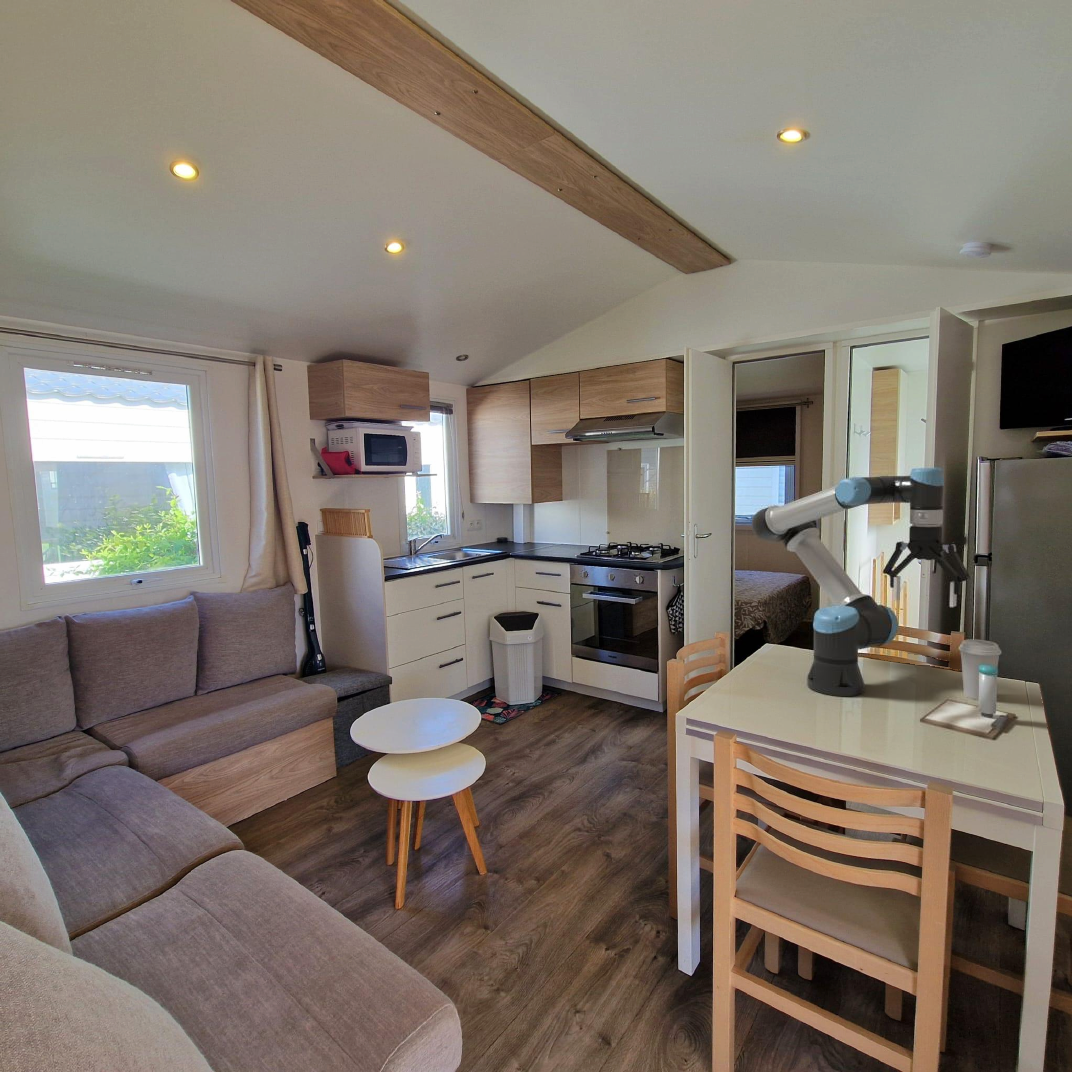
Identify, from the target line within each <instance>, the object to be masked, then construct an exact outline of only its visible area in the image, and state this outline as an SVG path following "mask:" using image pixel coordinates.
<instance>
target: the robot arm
mask: <svg viewBox="0 0 1072 1072" xmlns="http://www.w3.org/2000/svg"><path fill="white" fill-rule="evenodd" d="M944 481H945V479H944V470H943V469H942V468H940V467H922V468H919V467H917V468H916V467H915V468H912V469H911V470H910V474H909V475H880V476H853V477H848V478H847V477H846V478H844V479H841V480H840V482H839V483H837V485H834V486H832V487H831V486H830V487H829V488H826V489H823V490H821V491H818V492H816V493H813V494H809V495H807V496H804V497H802V498H799V499H797V500H793V501H791V502H788V503H785V504H782V505H777V504H776V505H771V506H768V507H765V508H762V509H759V511H757V512H756V513H754V516H753V517H752V519H751V529H752V532H753V534H754V535H755V537H757V538H758V539H759V540H761V541H763V542H767V543H777V542H779V543H780V542H781V543H782V544H783V545H784V547H785V548H786V550H787V551H788V552H794V553H795V554H796V555H797V556H798V558H799V560H801V562H802V564H803V565H804V566H805V568H807V570H808V571H809V573H810V574H811V575H812V577H813V578H814V580H815V581H816V582H817V584H818V585H819V587H820V588H821V589H822V591H824V593H825V595H826V596H827V597H828V599H829V600H830V601H831V602H832V604H833V605H834V606H833V605H829V606H826V607H825V606H824V607H822V608H819V609H818V610H816V612H815V613H814V617H813V623H812V625H813V626H812V627H813V661H812V663H811V665H810V669H809V671H808V673H807V677H806V685H807V687H808V688H809V689H810V690H812V691H814V692H817V693H821V694H824V695H827V696H828V695H829V696H836V697H837V696H838V697H852V696H853V697H856V696H860V695H862V694H864V692H865V680H864V677H863V675H862V672H861V670H860V667H859V650H864V649H868V648H869V649H870V648H874V647H876V648H877V647H881V646H883V645H887V644H889V643H891V642H892V641H893V640H894V639H895V638H896V637H897V635H898V631H899V629H898V627H899V620H898V617H897V615H896V613H895V612H894V610H892V609H891V608H890V607H888V606H885V605H883V604H878V603H877V602H876V601H875V599H874V598H873V597H872V596H871V595H869V594H864V593H863V592H862V591H861V590H860V589H859V588H858V586H857V585H856V583H855V582H854V581H853V580H852V579H851V578H850V575H849V574H848V573H847V572H846V571H845V570H844V569H843V567H842V566H841V564H840V563H839V562H838V561H837V559H836V558H835V557H834V555H833V554H832V553H831V552H830V550H829V549H828V548H827V547H826V545H825V544H824V542H823V541H822V540H821V539H820V536H819V535H820V529H819V527H820V526H819V524H818V522H819V519H822V518H825V517H828V516H831V515H835V514H838V513H841V512H844V511H847V510H851V509H854V508H857V507H860V506H864V505H874V504H876V505H877V504H878V505H879V504H891V503H893V504H894V503H895V504H896V503H901V504H902V503H903V504H904V503H905V504H906V503H907V504H909V524H911V525H910V526H909V529H908V531H909V535H908V537H909V540H908V542H904V541H897V542H896V543H895V549H894V551H893V552H892V554H891V556H890V558H889V560H888V561H887V563H886V565H885V566H884V568H883V570H882V574H885V575H888V576H889V577H890V578H889V579H890V580H889V586H890V588H891V589H893V601H899V600H901V580H902V579H901V577H902V576H900V575H899V574H900V573H901V572H902V571H903V570H904V569H905V568H906V567H907V566H908V565H909V564H910V563H911V562H912V561H913V560H915V559H917V560H925V561H935V562H936V563H937V564H938V566H940V568H941V569H942V570H943V571H944V572H945V573H946V574H947V575H948V576H949V578H951V580H952V581H950V582H949V583H950V584H949V608H954V607H957V600H958V598H957V597H958V596H959V595H961V593H962V583H963V582H966V581H969V580H970V579H971V575H970V574H969V572H968V570H967V568H966V567H965V565H964V563H963V561H962V559H961V558H960V555H959V553H958V550H957V545H956V544H955V543H951V544H944V543H943V527H942V524H944V523H943V522H944V519H943V518H944V517H943V516H944V510H943V506H944V505H943V503H944V489H945V488H944V487H945V482H944ZM906 548H907V549H908V550H909V552H910V553H909V554H908V555H906V557H905V558H904V559H903V560H902V561H901V562H900V563H899V564H898V565H897V566H896V567H895V568H894V566H895V565H896V563H897V561H898V560H899V559H900V556H901V555H902V553H903V551H904V550H906ZM942 551H945V552H946V553H947V554H948V556H949V558H950V559H951V562H952V563H953V565H954V567H955V569H956V570H955V569H954V568H953V567H952V566H951V565H950V563H949V562H948V561H947V560H946V559H945V557H944V556H943V555H942ZM957 595H958V596H957Z"/></svg>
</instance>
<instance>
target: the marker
mask: <svg viewBox="0 0 1072 1072" xmlns="http://www.w3.org/2000/svg"><path fill="white" fill-rule="evenodd" d="M998 674H999V667H998V666H997V667H995V666H991V665H979V700H978V701H977V702H978V705H977V706H978V711H980V712H981V716H983V717H987V718H992V717H993V714H995V713H996V710H997V698H998V697H997V696H998Z"/></svg>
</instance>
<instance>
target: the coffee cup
mask: <svg viewBox="0 0 1072 1072" xmlns="http://www.w3.org/2000/svg"><path fill="white" fill-rule="evenodd" d="M958 650H959V651H960V657H961V669H962V671H961V673H962V684H963V695H964V696H965V697H967V698H969V699H972V700H978V701H979V665H991V666H995V667H997V668H998V664H999V658H1000V655H1001V654H1002V650H1001V648H1000V647H999V645H998V644H997V642H993V641H989V640H983V639H975V638H974V639H964V640H962V641H961V643H960V645H959V647H958Z"/></svg>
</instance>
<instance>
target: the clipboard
mask: <svg viewBox="0 0 1072 1072" xmlns="http://www.w3.org/2000/svg"><path fill="white" fill-rule="evenodd" d="M1016 717H1017V716H1016V713H1012V712H1007V711H1004V710H1003V711H1002V710H998V709H996V713H995V714H993V717H992V718H987V717H983V716H981V712H980V711H978V705H975V704H971V703H966V702H962V701H958V700H953V699H949V698H947V699H945V700H944V701H943V702H941V703H940V704H938V705H937V706H936V707H934V708H933V709H931V710H930V711H929V712H928V713H926V714H925V715H924V716H922V717H921V718H920V719H919V722H921V723H924V724H928V725H931V726H937V727H940V728H945V729H949V730H952V731H956V732H960V733H964V734H967V735H972V736H975V737H979V738H983V739H988V740H991V741H992V740H994V739H995V738H996V737H997V736H998V734H1000V733H1001V732H1002V730H1004V729H1005V727H1006V726H1008V725H1009V723H1011V721H1012V720H1014V719H1015V718H1016Z"/></svg>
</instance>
